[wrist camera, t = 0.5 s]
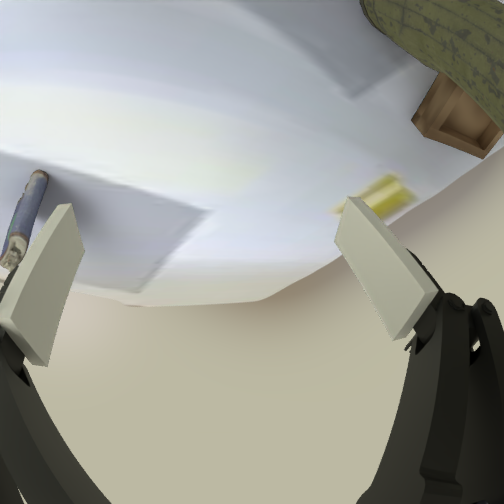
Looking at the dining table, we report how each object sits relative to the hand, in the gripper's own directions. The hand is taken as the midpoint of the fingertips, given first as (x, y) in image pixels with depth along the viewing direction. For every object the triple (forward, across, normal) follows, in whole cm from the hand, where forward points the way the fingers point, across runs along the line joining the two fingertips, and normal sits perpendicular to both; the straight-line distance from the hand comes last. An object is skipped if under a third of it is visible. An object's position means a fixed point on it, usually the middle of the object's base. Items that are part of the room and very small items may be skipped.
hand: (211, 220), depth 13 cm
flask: (+18, -22, -6) cm, 29 cm away
